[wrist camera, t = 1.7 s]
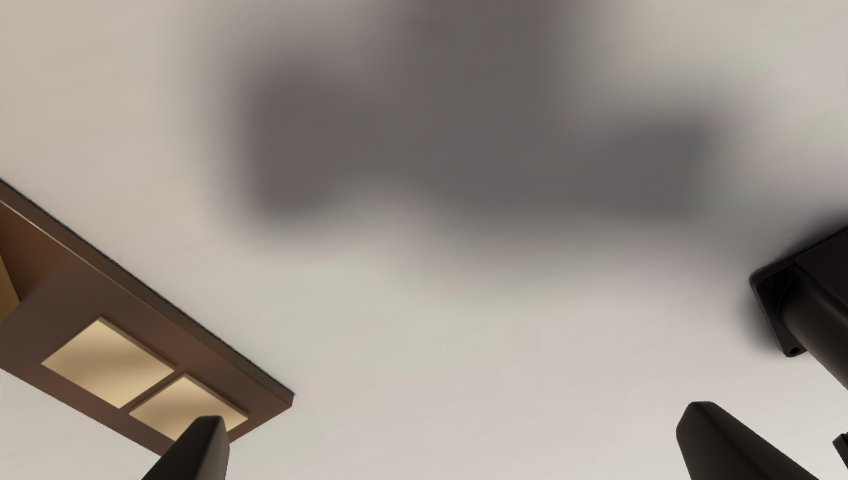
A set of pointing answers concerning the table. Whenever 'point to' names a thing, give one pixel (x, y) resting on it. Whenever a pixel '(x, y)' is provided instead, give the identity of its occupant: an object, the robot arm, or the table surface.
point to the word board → (116, 341)
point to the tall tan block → (6, 293)
